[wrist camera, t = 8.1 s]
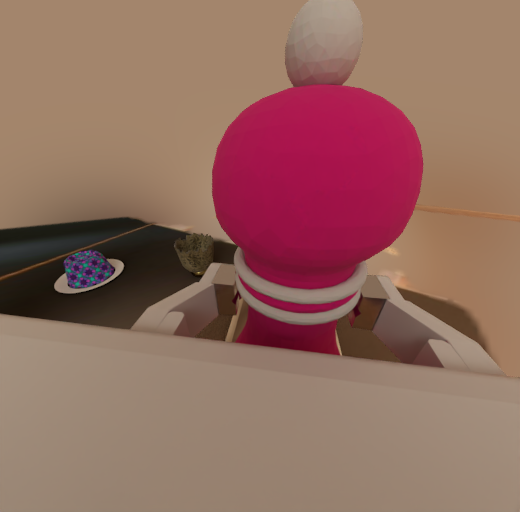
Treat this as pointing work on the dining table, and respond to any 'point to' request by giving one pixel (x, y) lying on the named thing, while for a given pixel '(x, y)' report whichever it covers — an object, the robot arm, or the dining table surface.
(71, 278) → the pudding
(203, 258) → the cup
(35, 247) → the dining table surface
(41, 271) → the dining table surface
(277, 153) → the pepper mill
